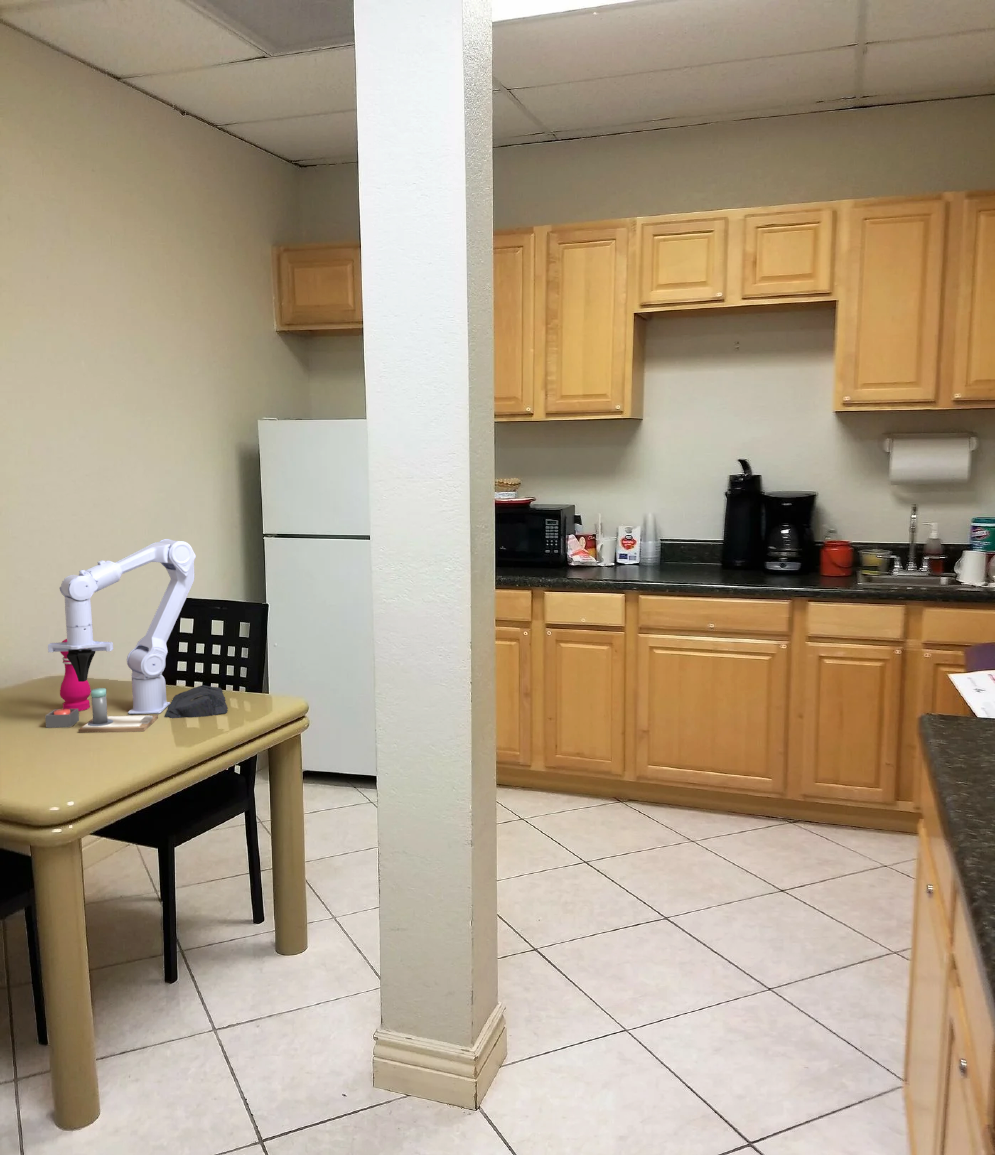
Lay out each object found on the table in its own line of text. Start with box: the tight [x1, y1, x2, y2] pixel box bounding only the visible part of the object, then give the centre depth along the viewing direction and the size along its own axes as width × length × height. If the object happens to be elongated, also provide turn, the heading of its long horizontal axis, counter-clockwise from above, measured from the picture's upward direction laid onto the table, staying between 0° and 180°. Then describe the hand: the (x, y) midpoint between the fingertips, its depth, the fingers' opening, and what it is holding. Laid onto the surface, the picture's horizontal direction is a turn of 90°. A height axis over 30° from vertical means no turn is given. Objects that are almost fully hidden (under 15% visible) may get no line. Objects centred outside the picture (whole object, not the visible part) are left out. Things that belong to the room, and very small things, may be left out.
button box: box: [45, 708, 80, 729], centre depth 225 cm, size 6×6×3 cm
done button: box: [54, 708, 70, 715], centre depth 225 cm, size 4×4×2 cm
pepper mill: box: [59, 638, 92, 712], centre depth 238 cm, size 7×7×20 cm
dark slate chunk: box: [163, 685, 229, 719], centre depth 241 cm, size 15×22×5 cm
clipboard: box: [78, 714, 159, 734], centre depth 224 cm, size 11×15×2 cm
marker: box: [90, 687, 108, 724], centre depth 222 cm, size 3×3×8 cm
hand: (82, 680), depth 225 cm, fingers closed
